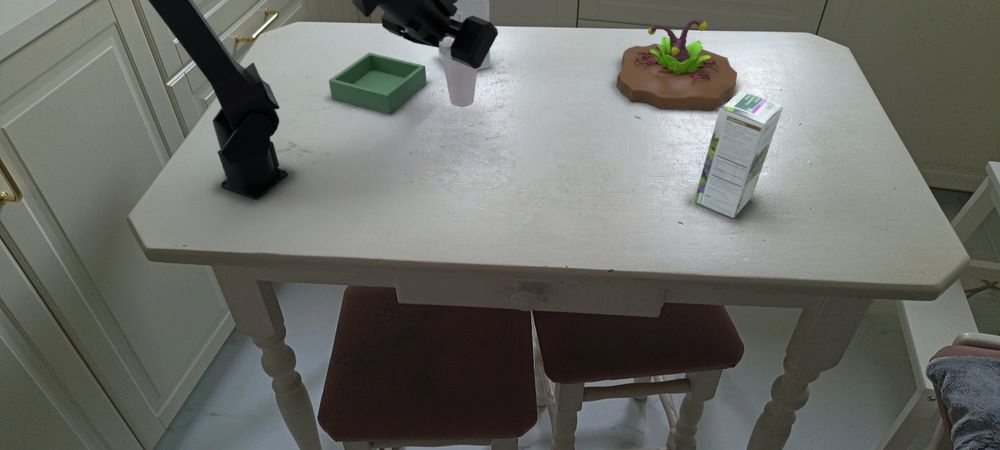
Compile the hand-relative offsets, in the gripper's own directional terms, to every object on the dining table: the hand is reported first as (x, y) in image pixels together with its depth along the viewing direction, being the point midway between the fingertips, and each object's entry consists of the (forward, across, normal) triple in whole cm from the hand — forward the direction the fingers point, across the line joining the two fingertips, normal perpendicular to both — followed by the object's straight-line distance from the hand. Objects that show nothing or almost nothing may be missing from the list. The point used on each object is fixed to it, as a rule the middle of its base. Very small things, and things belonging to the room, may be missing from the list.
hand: (467, 53), depth 97 cm
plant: (+28, -20, -15) cm, 38 cm away
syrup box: (+11, -42, +3) cm, 43 cm away
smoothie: (+4, 0, +6) cm, 8 cm away
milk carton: (+15, +12, -1) cm, 19 cm away
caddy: (+3, +15, +11) cm, 19 cm away
